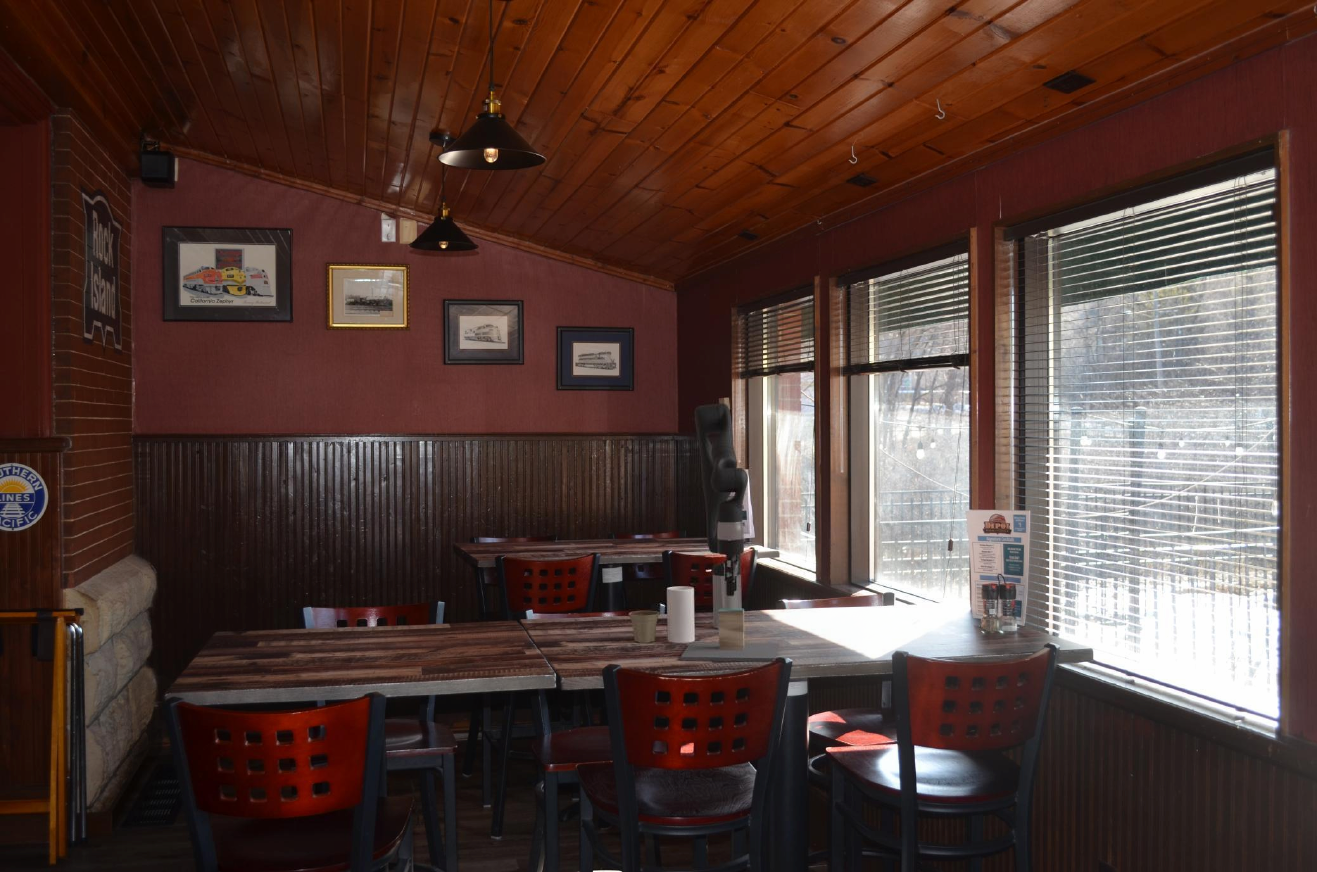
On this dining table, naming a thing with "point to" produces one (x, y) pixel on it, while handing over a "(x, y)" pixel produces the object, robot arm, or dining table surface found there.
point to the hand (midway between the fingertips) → (731, 593)
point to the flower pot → (644, 625)
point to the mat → (730, 652)
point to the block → (731, 629)
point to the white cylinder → (680, 614)
